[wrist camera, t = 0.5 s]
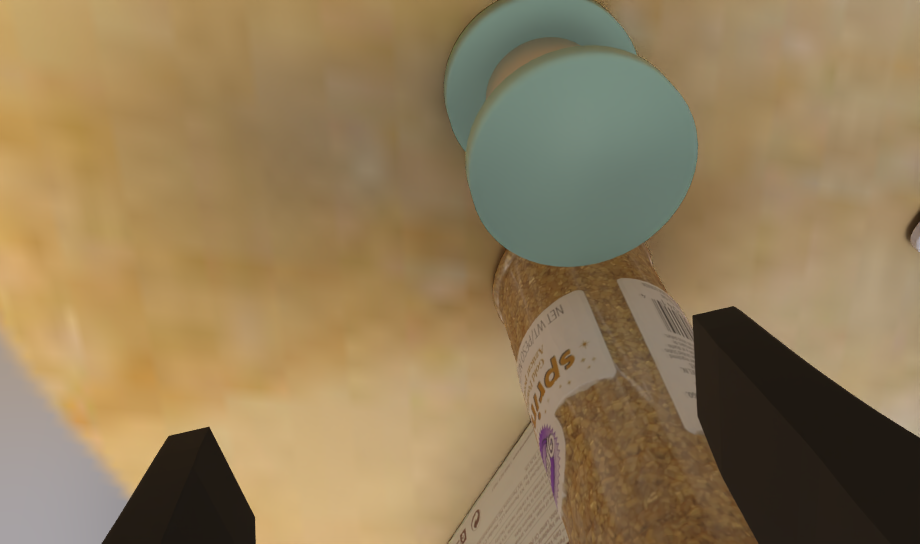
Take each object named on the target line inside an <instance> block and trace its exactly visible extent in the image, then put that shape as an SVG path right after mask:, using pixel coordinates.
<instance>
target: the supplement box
mask: <svg viewBox="0 0 920 544" xmlns="http://www.w3.org/2000/svg"><path fill="white" fill-rule="evenodd" d="M448 544H569V538H568V535H567V532H566V529H565V526H564V523H563V522H562V520H561V519H560V516H559V513H558V510H557V507H556V503H555V500H554V496H553V493H552V490H551V486H550V483H549V479H548V476H547V473H546V470H545V467H544V463H543V460H542V457H541V454H540V450H539V447H538V443H537V440H536V436H535V432H534V429H533V425H532V422H531V423H530V425H529V426H528V427H527V429H526V430H525V432H524V433H523V435H522V436H521V438H520V439H519V441H518V442H517V444H516V445H515V446H514V447H513V449H512V450H511V452H510V453H509V455H508V456H507V458H506V459H505V461H504V462H503V464H502V465H501V467H500V468H499V469H498V470H497V472H496V473H495V475H494V477H493V478H492V479H491V481H490V482H489V484H488V485H487V487H486V488H485V490H484V491H483V493H482V494H481V495H480V497H479V498H478V500H477V501H476V502H475V504H474V506H473V507H472V508H471V510H470V511H469V513H468V514H467V516H466V517H465V519H464V520H463V522H462V524H461V525H460V526H459V528H458V529H457V531H456V532H455V534H454V535H453V537H452V539H451V540H450V541H449V543H448Z"/></svg>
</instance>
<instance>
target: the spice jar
mask: <svg viewBox="0 0 920 544" xmlns="http://www.w3.org/2000/svg"><path fill="white" fill-rule="evenodd" d="M493 301H494V304H495V307H496V310H497V312H498V315H499V317H500V319H501V321H502V322H503V324H505V326H506V330H507V333H508V336H509V339H510V341H511V347H512V350H513V353H514V356H515V359H516V362H517V372H518V377H519V382H520V385H521V389H522V392H523V395H524V399H525V402H526V406H527V409H528V412H529V415H530V419H531V422H532V425H533V429H534V432H535V436H536V440H537V443H538V447H539V450H540V454H541V457H542V460H543V463H544V467H545V470H546V473H547V476H548V479H549V483H550V486H551V490H552V493H553V496H554V500H555V503H556V507H557V510H558V513H559V516H560V519H561V520H562V522H563V523H564V526H565V529H566V532H567V535H568V538H569V544H758V542H757V540H756V538H755V537H754V535H753V533H752V531H751V529H750V528H749V526H748V524H747V522H746V520H745V518H744V517H743V515H742V513H741V511H740V509H739V508H738V506H737V504H736V502H735V500H734V498H733V497H732V495H731V493H730V491H729V489H728V487H727V485H726V484H725V482H724V480H723V478H722V476H721V474H720V471H719V469H718V466H717V464H716V462H715V459H714V457H713V454H712V452H711V449H710V447H709V444H708V442H707V439H706V437H705V434H704V432H703V429H702V427H701V424H700V421H699V419H698V416H697V399H696V378H695V358H694V337H693V329H692V327H691V326H690V324H689V322H688V320H687V319H686V317H685V315H684V313H683V312H682V310H681V308H680V307H679V305H678V304H677V302H676V301H675V300H674V299H673V298H672V297H670V296H669V295H668V293H667V292H666V290H665V288H664V286H663V284H662V282H661V281H660V279H659V277H658V275H657V273H656V272H655V270H654V268H653V264H652V260H651V257H650V253H649V250H648V248H647V247H646V244H645V242H643V243H642V244H640V245H639V246H637V247H636V248H634V249H632V250H630V251H628V252H626V253H625V254H622V255H620V256H618V257H615V258H613V259H610V260H607V261H603V262H600V263H597V264H591V265H586V266H576V267H557V266H550V265H543V264H539V263H536V262H532V261H529V260H527V259H525V258H522V257H520V256H518V255H516V254H514V253H513V252H511V251H509V250H508V249H506V251H505V253H504V255H503V256H502V258H501V260H500V263H499V265H498V270H497V272H496V273H495V280H494V284H493Z"/></svg>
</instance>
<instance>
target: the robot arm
mask: <svg viewBox="0 0 920 544" xmlns="http://www.w3.org/2000/svg"><path fill="white" fill-rule="evenodd" d="M910 242H911V244H912V246H913V247H914V248H915V249H916V250H917V251H918V252H920V222H919V223H918V225H917V226H916V228H915V229H914V231H913V233H912V235H911V241H910ZM693 337H694V358H695V378H696V399H697V416H698V419H699V421H700V424H701V427H702V429H703V432H704V434H705V437H706V439H707V442H708V444H709V447H710V449H711V452H712V454H713V457H714V459H715V462H716V464H717V466H718V469H719V471H720V474H721V476H722V478H723V480H724V482H725V484H726V485H727V487H728V489H729V491H730V493H731V495H732V497H733V498H734V500H735V502H736V504H737V506H738V508H739V509H740V511H741V513H742V515H743V517H744V518H745V520H746V522H747V524H748V526H749V528H750V529H751V531H752V533H753V535H754V537H755V538H756V540H757V542H758V544H920V438H919V437H918V436H916V435H914V434H913V433H911V432H909V431H908V430H906V429H905V428H903V427H901V426H900V425H898V424H897V423H895V422H893V421H892V420H890V419H889V418H887V417H886V416H884V415H882V414H881V413H879V412H878V411H876V410H875V409H873V408H872V407H870V406H869V405H867V404H866V403H864V402H863V401H861V400H860V399H858V398H857V397H855V396H854V395H852V394H851V393H850V392H848V391H847V390H845V389H844V388H842V387H841V386H840V385H838V384H837V383H835V382H834V381H832V380H831V379H830V378H828V377H827V376H825V375H824V374H822V373H821V372H820V371H818V370H817V369H816V368H814V367H813V366H812V365H810V364H809V363H807V362H806V361H805V360H803V359H802V358H801V357H800V356H798V355H797V354H796V353H794V352H793V351H792V350H790V349H789V348H788V347H786V346H785V345H784V344H782V343H781V342H780V341H779V340H777V339H776V338H775V337H773V336H772V335H771V334H770V333H768V332H767V331H766V330H765V329H763V328H762V327H761V326H759V325H758V324H757V323H756V322H754V321H753V320H752V319H751V318H749V317H748V316H747V315H746V314H744V313H743V312H742V311H740V310H739V309H737V308H736V307H734V306H732V307H728V308H723V309H719V310H715V311H710V312H706V313H702V314H697V315H693ZM102 544H256V539H255V516H254V514H253V512H252V510H251V508H250V506H249V505H248V503H247V501H246V499H245V497H244V495H243V493H242V491H241V489H240V487H239V485H238V483H237V481H236V479H235V477H234V475H233V473H232V471H231V469H230V467H229V465H228V463H227V461H226V459H225V457H224V455H223V453H222V451H221V449H220V447H219V445H218V443H217V441H216V439H215V437H214V435H213V433H212V431H211V429H210V427H206V428H201V429H197V430H193V431H188V432H184V433H180V434H175V435H171V436H168V438H167V440H166V441H165V443H164V444H163V446H162V447H161V449H160V450H159V452H158V454H157V455H156V457H155V458H154V460H153V462H152V463H151V465H150V467H149V468H148V470H147V471H146V473H145V475H144V476H143V478H142V480H141V481H140V483H139V485H138V486H137V488H136V490H135V491H134V493H133V494H132V496H131V498H130V499H129V501H128V503H127V504H126V506H125V507H124V509H123V511H122V512H121V514H120V516H119V517H118V519H117V520H116V522H115V524H114V525H113V527H112V528H111V530H110V531H109V533H108V534H107V536H106V538H105V539H104V541H103V542H102Z"/></svg>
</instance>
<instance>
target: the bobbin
mask: <svg viewBox="0 0 920 544" xmlns="http://www.w3.org/2000/svg"><path fill="white" fill-rule="evenodd" d="M444 99H445V106H446V109H447V113H448V116H449V120H450V123H451V126H452V130H453V132H454V134H455V136H456V138H457V140H458V142H459V143H460V145H461V147H462V148H463V150H464V151H465V152H466V166H465V168H466V175H467V181H468V185H469V188H470V191H471V195H472V198H473V202H474V205H475V208H476V211H477V213H478V215H479V217H480V219H481V221H482V223H483V224H484V226H485V227H486V229H487V230H488V232H489V233H490V234H491V235H492V236H493V237H494V238H495V239H496V241H498V242H499V243H500V244H501V245H503V246H504V247H505V248H506V249H508V250H509V251H511V252H513V253H514V254H516V255H518V256H520V257H522V258H525V259H527V260H529V261H532V262H536V263H539V264H543V265H550V266H557V267H576V266H586V265H591V264H597V263H600V262H603V261H607V260H610V259H613V258H615V257H618V256H620V255H622V254H625V253H626V252H628V251H630V250H632V249H634V248H636V247H637V246H639V245H640V244H642V243H643V242H645V241H646V240H648V239H649V238H650V237H651V236H653V235H654V234H655V233H656V232H657V231H659V230H660V229H661V228H662V226H663V225H664V224H665V223H666V222H667V221H668V220H669V219H670V218H671V217H672V215H673V214H674V213H675V211H676V210H677V209H678V207H679V206H680V204H681V202H682V201H683V199H684V197H685V196H686V193H687V191H688V189H689V187H690V185H691V182H692V179H693V175H694V172H695V168H696V162H697V154H698V140H697V131H696V127H695V123H694V120H693V117H692V114H691V112H690V110H689V108H688V105H687V104H686V102H685V101H684V99H683V98H682V96H681V95H680V93H679V92H678V91H677V90H676V89H675V88H674V86H673V85H672V84H671V83H670V82H669V81H668V80H667V79H666V77H665V76H664V75H663V74H662V73H661V72H660V71H659V70H658V69H657V68H655V67H654V66H653V65H652V64H650V63H649V62H648V61H646V60H644V59H642V58H641V57H639V56H637V54H636V51H635V48H634V46H633V44H632V42H631V40H630V38H629V37H628V35H627V34H626V32H625V31H624V29H623V28H622V27H621V26H620V24H619V23H618V22H617V21H616V20H615V19H614V18H613V17H612V15H611V14H610V13H609V12H608V11H607V10H606V9H605V8H603V7H602V6H601V5H600V4H598V3H597V2H595V1H594V0H498V1H497V2H495V3H493V4H492V5H490V6H488V7H487V8H486V9H485V10H483V11H482V12H481V13H480V14H478V15H477V16H476V17H475V18H474V19H473V20H472V21H471V22H470V23H469V24H468V26H467V27H466V28H465V30H464V31H463V32H462V33H461V35H460V36H459V38H458V40H457V42H456V43H455V45H454V47H453V49H452V52H451V54H450V56H449V59H448V63H447V67H446V70H445V78H444Z"/></svg>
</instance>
